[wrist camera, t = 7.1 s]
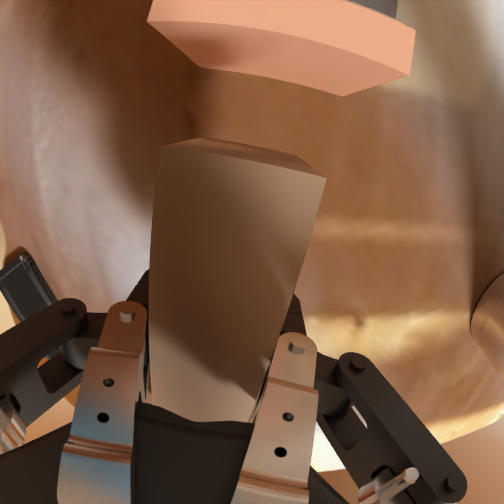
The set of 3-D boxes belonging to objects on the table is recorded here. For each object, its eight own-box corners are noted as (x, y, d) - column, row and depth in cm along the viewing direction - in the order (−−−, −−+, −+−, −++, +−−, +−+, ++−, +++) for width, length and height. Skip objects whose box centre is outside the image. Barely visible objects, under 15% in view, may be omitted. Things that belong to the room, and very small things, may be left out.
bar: (296, 155, 10) (326, 177, 6) (238, 379, 15) (233, 456, 11) (203, 136, 10) (160, 146, 6) (176, 368, 15) (156, 442, 10)
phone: (23, 252, 20) (108, 376, 25) (30, 247, 21) (111, 369, 26) (-8, 276, 21) (65, 381, 27) (-2, 272, 22) (69, 375, 28)
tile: (348, 64, 15) (416, 24, 6) (342, 96, 16) (409, 75, 7) (207, 35, 14) (163, -29, 6) (199, 67, 15) (146, 21, 7)
